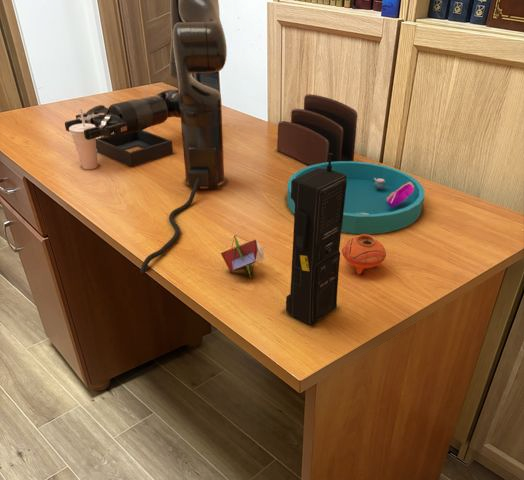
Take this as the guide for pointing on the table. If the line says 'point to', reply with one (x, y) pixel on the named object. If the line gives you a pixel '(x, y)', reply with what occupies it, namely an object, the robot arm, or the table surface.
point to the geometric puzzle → (243, 255)
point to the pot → (363, 252)
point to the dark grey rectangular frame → (148, 141)
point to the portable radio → (316, 243)
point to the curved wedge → (99, 109)
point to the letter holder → (319, 131)
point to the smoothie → (84, 144)
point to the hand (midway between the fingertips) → (75, 131)
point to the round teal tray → (373, 197)
